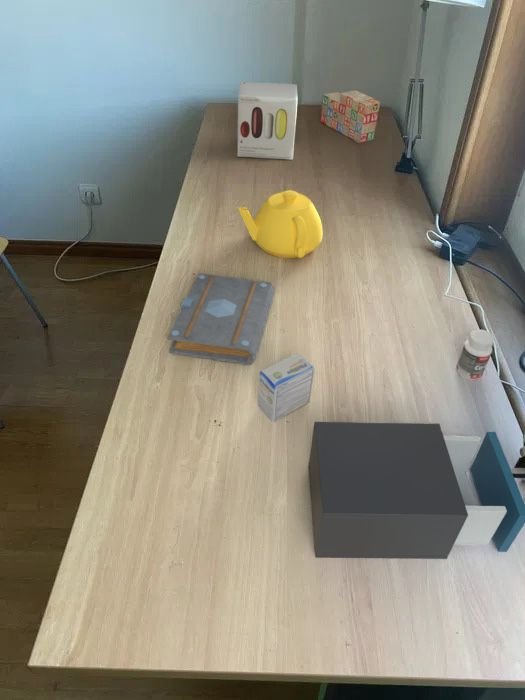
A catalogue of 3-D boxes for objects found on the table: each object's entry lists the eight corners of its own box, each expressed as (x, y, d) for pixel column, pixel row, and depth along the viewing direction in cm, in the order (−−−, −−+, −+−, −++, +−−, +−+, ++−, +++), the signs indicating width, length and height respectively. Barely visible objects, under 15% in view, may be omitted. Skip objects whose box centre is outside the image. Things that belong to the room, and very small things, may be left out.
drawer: (515, 469, 85) (536, 432, 79) (549, 552, 75) (576, 516, 69) (369, 467, 85) (378, 429, 79) (383, 550, 75) (396, 514, 69)
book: (255, 367, 102) (255, 346, 98) (167, 354, 103) (164, 333, 100) (274, 299, 117) (275, 279, 114) (197, 289, 119) (196, 269, 116)
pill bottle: (473, 384, 100) (487, 349, 94) (450, 370, 102) (462, 335, 97) (487, 372, 102) (501, 337, 97) (464, 359, 105) (477, 324, 99)
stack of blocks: (319, 122, 194) (323, 84, 186) (334, 119, 197) (338, 82, 189) (359, 143, 181) (365, 104, 173) (374, 140, 183) (380, 101, 175)
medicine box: (294, 387, 98) (297, 350, 92) (310, 403, 95) (315, 366, 90) (257, 407, 94) (258, 369, 89) (273, 423, 92) (276, 386, 86)
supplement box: (236, 158, 170) (236, 95, 158) (239, 141, 180) (239, 80, 168) (293, 160, 170) (298, 98, 158) (293, 143, 180) (297, 83, 168)
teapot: (308, 222, 142) (313, 173, 133) (334, 262, 128) (341, 211, 120) (231, 230, 138) (230, 181, 129) (249, 273, 124) (250, 221, 116)
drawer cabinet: (422, 468, 86) (439, 423, 79) (446, 559, 75) (468, 515, 68) (308, 467, 85) (314, 421, 78) (315, 557, 75) (323, 513, 68)
